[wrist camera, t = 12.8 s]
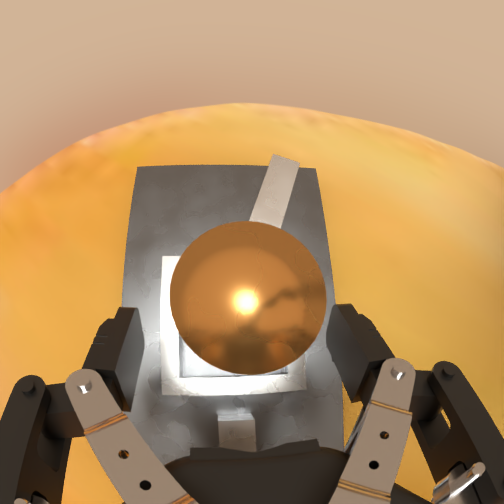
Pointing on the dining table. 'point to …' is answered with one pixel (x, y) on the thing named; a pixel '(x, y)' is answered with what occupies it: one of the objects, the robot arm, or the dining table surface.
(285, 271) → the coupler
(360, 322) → the robot arm
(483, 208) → the dining table surface
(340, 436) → the coupling base
